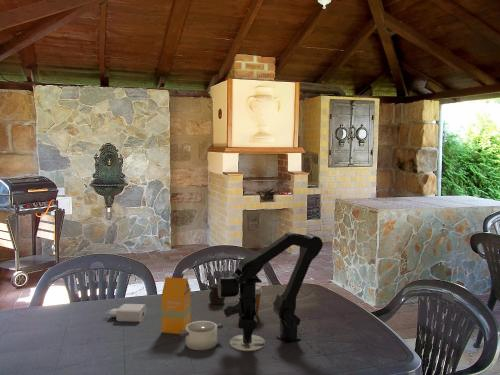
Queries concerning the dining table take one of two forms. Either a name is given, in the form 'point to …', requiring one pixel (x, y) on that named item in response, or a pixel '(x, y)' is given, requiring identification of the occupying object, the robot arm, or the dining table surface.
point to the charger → (129, 312)
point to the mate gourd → (215, 295)
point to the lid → (247, 342)
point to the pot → (201, 335)
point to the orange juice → (176, 305)
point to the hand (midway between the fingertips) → (247, 338)
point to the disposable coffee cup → (257, 297)
